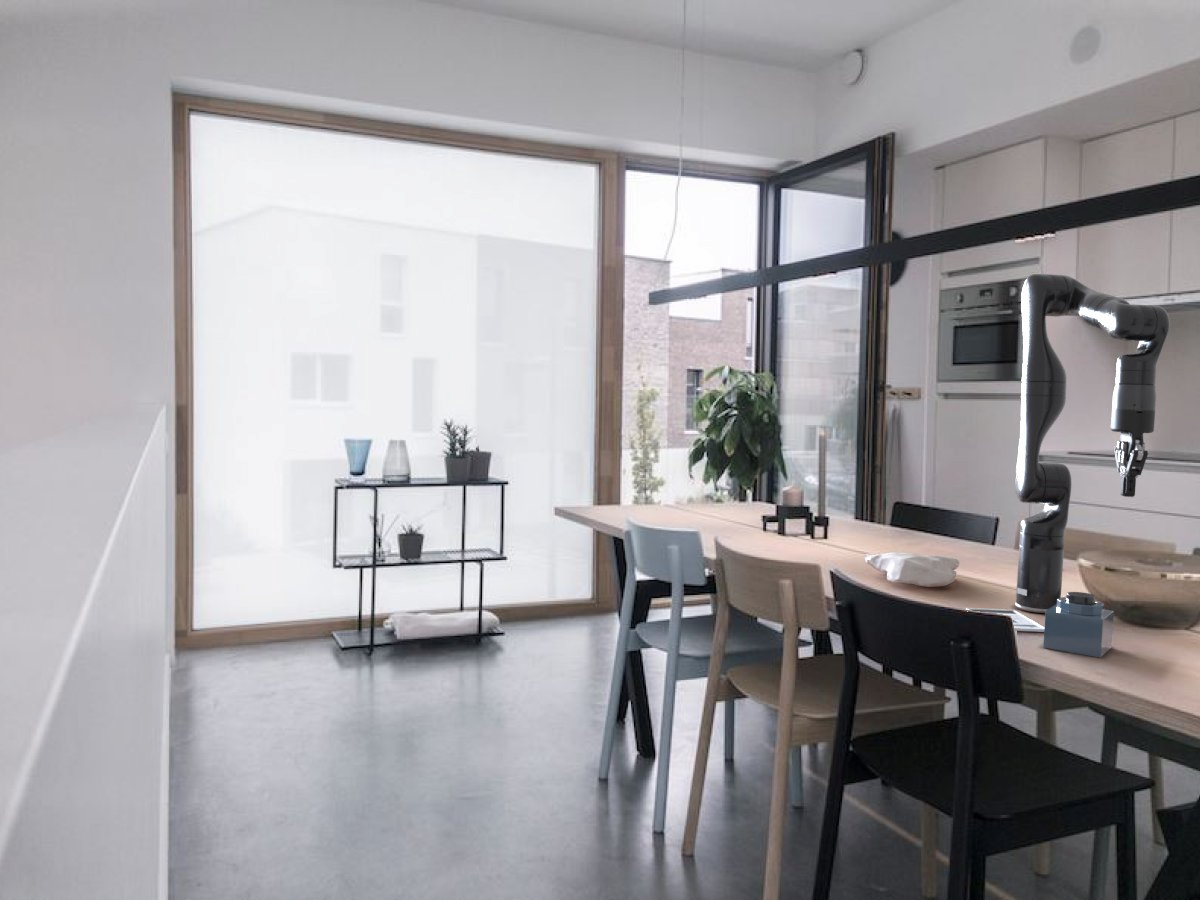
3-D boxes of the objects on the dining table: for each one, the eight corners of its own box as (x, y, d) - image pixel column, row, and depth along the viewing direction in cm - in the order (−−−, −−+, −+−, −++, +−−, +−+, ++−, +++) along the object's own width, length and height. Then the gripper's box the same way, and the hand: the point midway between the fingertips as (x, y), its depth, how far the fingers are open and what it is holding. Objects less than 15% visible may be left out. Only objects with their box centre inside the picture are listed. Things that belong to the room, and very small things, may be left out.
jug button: (1069, 599, 194) (1070, 590, 194) (1097, 603, 191) (1098, 594, 191) (1063, 603, 190) (1063, 594, 190) (1091, 607, 187) (1092, 598, 187)
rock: (877, 586, 243) (859, 573, 273) (975, 592, 241) (946, 578, 270) (878, 554, 243) (860, 545, 273) (976, 559, 241) (947, 550, 271)
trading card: (1048, 632, 202) (1014, 612, 220) (1048, 629, 202) (1014, 609, 220) (995, 630, 203) (965, 610, 221) (995, 627, 203) (965, 607, 221)
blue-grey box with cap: (1056, 638, 198) (1059, 593, 197) (1111, 647, 192) (1114, 601, 191) (1043, 647, 190) (1046, 601, 189) (1100, 657, 184) (1103, 609, 183)
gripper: (1102, 406, 201) (1097, 492, 202) (1123, 407, 188) (1117, 498, 189) (1143, 408, 199) (1137, 494, 200) (1166, 409, 186) (1160, 501, 187)
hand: (1127, 496), depth 195 cm, fingers closed
